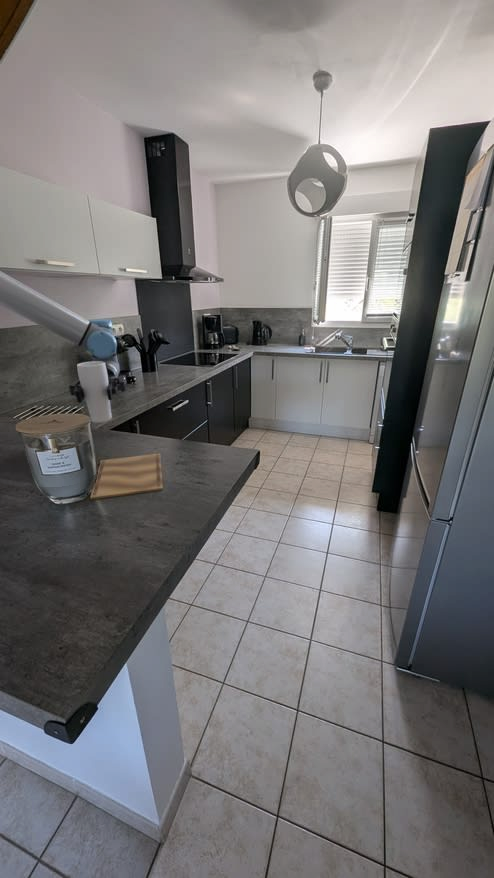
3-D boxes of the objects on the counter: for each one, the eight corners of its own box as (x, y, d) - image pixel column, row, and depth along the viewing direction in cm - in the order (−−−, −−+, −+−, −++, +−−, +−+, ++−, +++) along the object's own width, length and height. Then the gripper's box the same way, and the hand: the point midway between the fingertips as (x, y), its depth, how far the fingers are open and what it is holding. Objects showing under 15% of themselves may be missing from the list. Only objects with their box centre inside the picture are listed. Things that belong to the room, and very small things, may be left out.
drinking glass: (104, 425, 90) (93, 366, 85) (82, 423, 92) (70, 365, 87) (120, 417, 96) (111, 361, 91) (99, 415, 98) (89, 360, 92)
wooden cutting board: (101, 462, 98) (100, 459, 98) (160, 455, 102) (160, 453, 102) (90, 500, 80) (89, 497, 80) (162, 490, 84) (162, 487, 84)
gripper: (138, 385, 111) (137, 407, 90) (71, 390, 107) (54, 414, 86) (135, 361, 108) (132, 378, 88) (66, 365, 104) (47, 384, 83)
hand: (93, 396), depth 87 cm, fingers closed on drinking glass, 6 cm apart
